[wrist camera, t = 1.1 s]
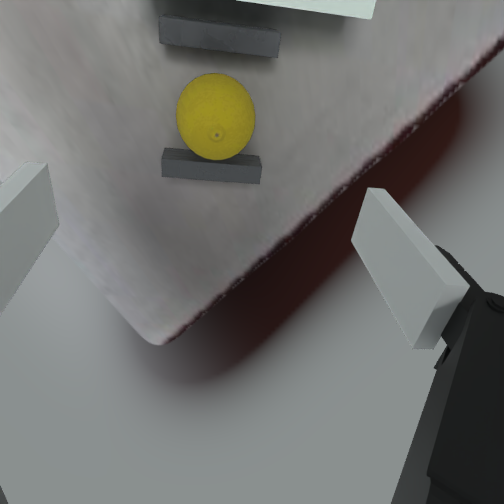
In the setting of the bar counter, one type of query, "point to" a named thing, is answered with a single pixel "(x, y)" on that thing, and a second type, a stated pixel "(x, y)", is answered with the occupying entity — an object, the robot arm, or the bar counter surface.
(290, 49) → the bar counter surface
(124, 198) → the bar counter surface
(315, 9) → the tray
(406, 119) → the bar counter surface
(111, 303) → the bar counter surface
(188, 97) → the lemon
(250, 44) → the cradle
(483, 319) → the robot arm
